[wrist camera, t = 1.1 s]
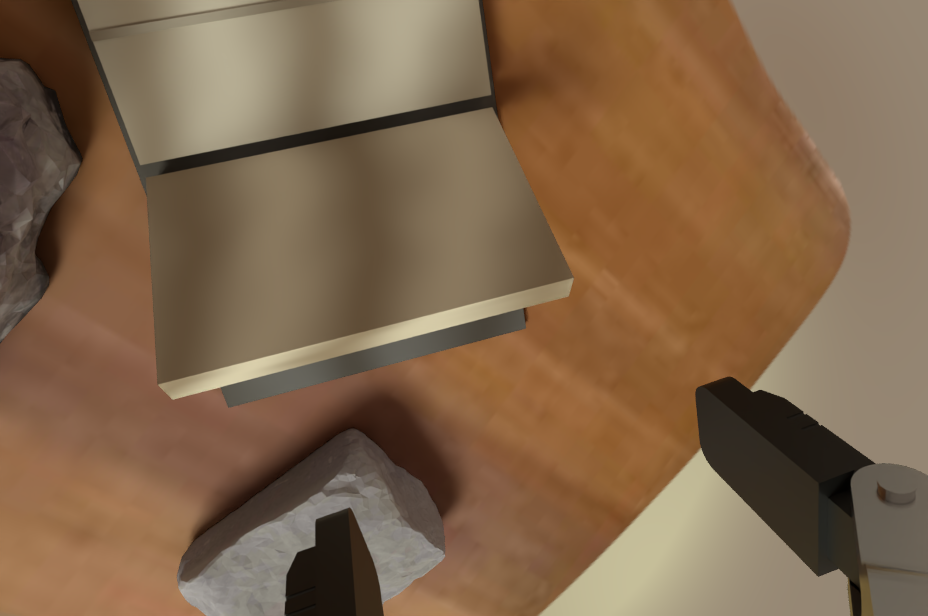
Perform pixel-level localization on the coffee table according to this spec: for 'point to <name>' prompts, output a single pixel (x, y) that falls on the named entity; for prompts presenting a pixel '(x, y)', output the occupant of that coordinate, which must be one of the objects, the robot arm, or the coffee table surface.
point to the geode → (28, 183)
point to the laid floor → (289, 101)
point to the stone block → (293, 529)
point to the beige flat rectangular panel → (342, 249)
